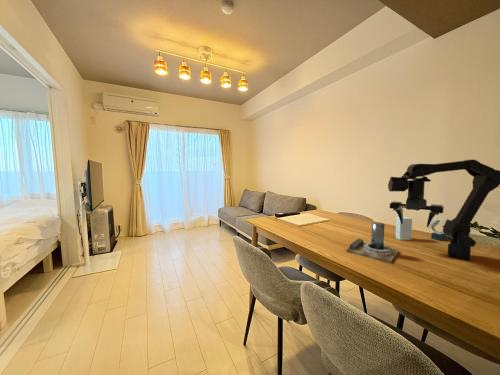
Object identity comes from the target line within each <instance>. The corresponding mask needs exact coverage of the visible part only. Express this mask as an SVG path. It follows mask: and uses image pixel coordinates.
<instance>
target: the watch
mask: <svg viewBox="0 0 500 375" xmlns="http://www.w3.org/2000/svg"><path fill="white" fill-rule="evenodd" d="M440 221H441V222H443V223H444V224H445V223H446V220H445V219H443V218H440V219H439V218H435V219H432V220H431V222H430V225H429V228H430V229H431V231H432V232H431V236H430V237H431V239H432V240H436V241H439V242H443V241H447V240H448V238H447V236H446V235H445V234H444V232H443V231H442V232H441V231H437V230H436V228H435V227H437V226H438V225H439V224H440Z"/></svg>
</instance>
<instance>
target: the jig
mask: <svg viewBox="0 0 500 375" xmlns="http://www.w3.org/2000/svg"><path fill="white" fill-rule="evenodd" d="M345 250H346V251H345V252H346V253H350V254H355V255H358V256H362V257H366V258H369V259H373V260H377V261H381V262H386V263H388V264H389V263H390V264H391V263H392V262H393V261H394V259H395V258H396V257H397V255H398V253H399V252H400V249H398V248H397V249H396V248H393V247H390V246H389V245H387V244H384V250H377V249H373V248H371V242H364V239H363V238H362V239H361V238H357V239H356V240H354V241H353V242H352V243H350V244H349V247H348V248H347V249H345Z"/></svg>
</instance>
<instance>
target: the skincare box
mask: <svg viewBox="0 0 500 375" xmlns="http://www.w3.org/2000/svg"><path fill="white" fill-rule="evenodd" d="M412 225H413V218H412V217H408V216H403V224H401V221H400V218H399V216H395V238H396V239H397V240H399V241H412V235H413V234H412V232H413V231H412V230H413V228H412V227H413V226H412Z"/></svg>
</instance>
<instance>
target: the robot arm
mask: <svg viewBox="0 0 500 375" xmlns="http://www.w3.org/2000/svg"><path fill="white" fill-rule="evenodd" d="M463 170H464V171H466V172H467V174H468V175H470V176H472V177H473V179H472V189H471V191H470V193H469V194H468V195H467V198H466V199H465V201H464V203H463V205H462V206H461V208H460V209H459V212H458V213H457V214H456V216H455V217H454V218H453V219H452V220H451V219H448V218H447V219H446V220H445V221H446V223H444V225H443V226H442V232H444V234H445V235H446V236H447V240H449V241H450V242H449V243H448V246H447V254H448V257H450V258H453V259H454V258H455V259H459V260H460V259H461V260H464V261H465V260H466V261H469V262H470V261H472V260H471V250H472V249H471V247H472V248H473V247H475V245H476V244H477V241H476V240H474V239H473V238H472V237H470V233H471V232H472V231H471V222H473V220H474V217H475V216H476V214H477V213H478V212H479V210H480V208H481V206H482V205H483V202H485V200H486V199H487V196H488V194H490V192H492V191H494V190H495V189H497V188H499V186H500V170H498V169H494V168H493V167H492V166H488V165H487V164H484V163H482V162H480V161H478V160H477V159H463V160H459V161H458V160H457V161H450V162H441V163H412V164H409V166H408V167H407V169H406V171H405V172H404V173H403V174H402V176H399V177H398V176H397V177H396V176H390V177H389V180H388V184H387V188H388V191H389V192H406V191H407V198H406V200H405V203H403V202H402V201H395V200H394V201H391V202H390V203H389V209H392V211H395V212H396V215H397V217H399V218H400V221H401V224H403V217H404V213H403V212H404V211H403V210H404V209H406V210H408V211H409V210H411V211H420V210H423V211H425V210H426V211H430V212H429V214H428V218H427V223H426V228H430V223H431V222H432V221H433V220H434V219H433V218H434V217H435V216H439V215H440V214H444V210H445V207H444V205H443V204H433V203H432V204H431V205H427V199H426V198H425V183H427V182H429V183H430V182H431V181H432V179H430V178H428V177H427V176H429V175H432V174H436V173H442V172H443V173H444V172H452V171H453V172H454V171H463Z"/></svg>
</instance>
